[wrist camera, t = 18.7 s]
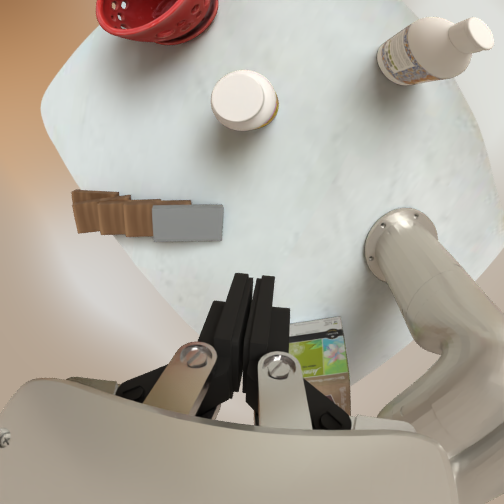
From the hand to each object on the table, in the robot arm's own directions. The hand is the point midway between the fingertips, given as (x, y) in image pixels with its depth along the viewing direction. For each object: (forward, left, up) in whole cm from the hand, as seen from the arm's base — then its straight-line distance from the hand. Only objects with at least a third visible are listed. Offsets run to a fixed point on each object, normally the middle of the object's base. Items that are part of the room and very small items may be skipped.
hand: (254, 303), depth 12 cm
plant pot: (+27, -10, -29) cm, 41 cm away
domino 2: (+14, +19, -28) cm, 36 cm away
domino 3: (+9, +16, -28) cm, 34 cm away
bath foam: (-1, -24, -29) cm, 38 cm away
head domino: (+1, +11, -28) cm, 30 cm away
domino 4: (+5, +13, -28) cm, 31 cm away
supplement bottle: (+9, -5, -29) cm, 31 cm away
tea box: (-27, +19, -29) cm, 44 cm away
